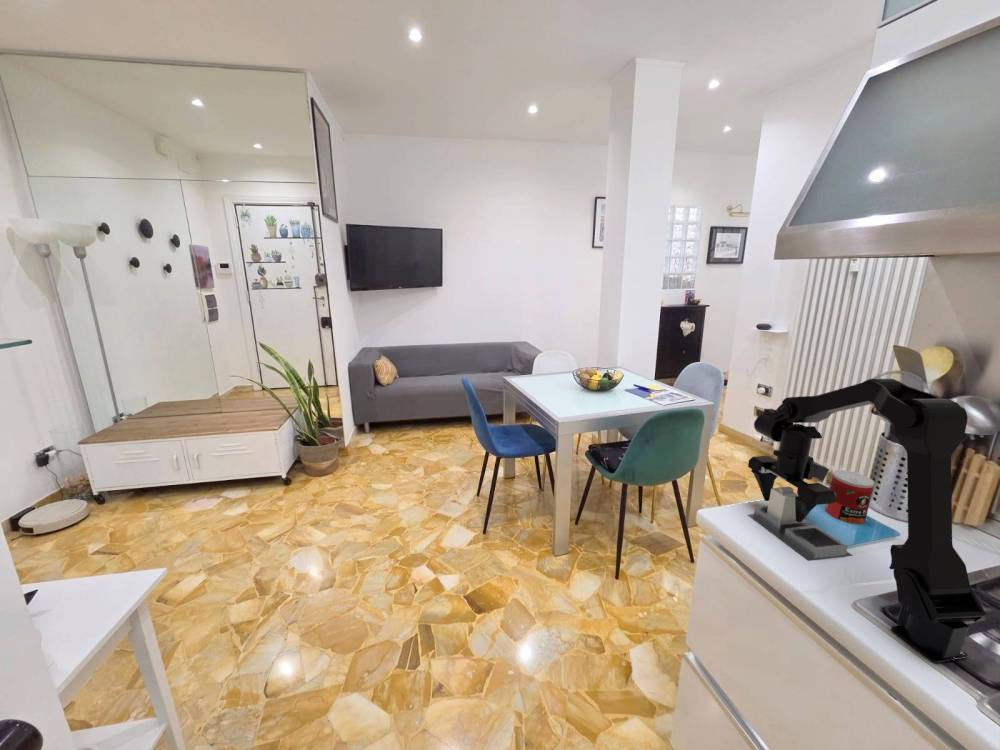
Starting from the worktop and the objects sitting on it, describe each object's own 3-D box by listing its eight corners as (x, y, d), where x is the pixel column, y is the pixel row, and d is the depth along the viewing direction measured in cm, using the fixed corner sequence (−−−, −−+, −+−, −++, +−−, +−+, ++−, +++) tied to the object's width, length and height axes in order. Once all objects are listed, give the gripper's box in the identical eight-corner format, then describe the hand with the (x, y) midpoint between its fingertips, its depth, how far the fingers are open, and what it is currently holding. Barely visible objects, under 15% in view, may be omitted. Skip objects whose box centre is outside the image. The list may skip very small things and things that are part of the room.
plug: (794, 526, 96) (801, 492, 94) (779, 528, 95) (786, 493, 93) (780, 516, 100) (786, 483, 98) (765, 518, 99) (771, 484, 97)
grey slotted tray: (852, 558, 86) (855, 546, 86) (807, 564, 85) (810, 551, 84) (785, 514, 103) (787, 503, 102) (746, 517, 101) (748, 506, 100)
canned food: (840, 526, 98) (850, 485, 95) (816, 508, 105) (825, 469, 103) (873, 527, 97) (884, 485, 95) (846, 509, 105) (856, 470, 103)
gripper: (865, 465, 86) (849, 531, 89) (789, 433, 104) (779, 488, 107) (819, 469, 84) (805, 535, 87) (751, 435, 102) (741, 491, 105)
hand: (782, 510), depth 97 cm, fingers open, 9 cm apart
